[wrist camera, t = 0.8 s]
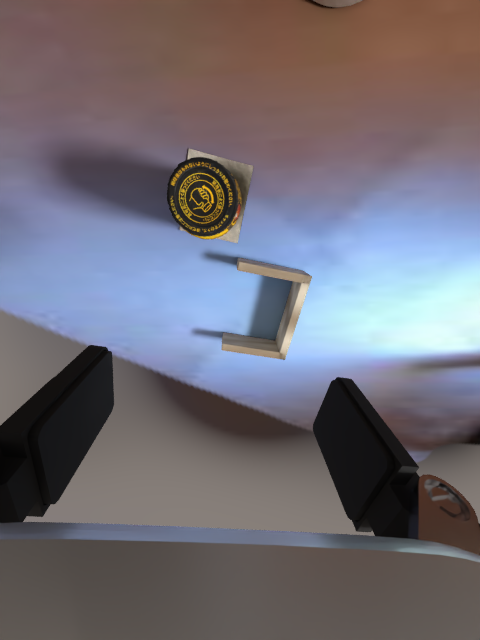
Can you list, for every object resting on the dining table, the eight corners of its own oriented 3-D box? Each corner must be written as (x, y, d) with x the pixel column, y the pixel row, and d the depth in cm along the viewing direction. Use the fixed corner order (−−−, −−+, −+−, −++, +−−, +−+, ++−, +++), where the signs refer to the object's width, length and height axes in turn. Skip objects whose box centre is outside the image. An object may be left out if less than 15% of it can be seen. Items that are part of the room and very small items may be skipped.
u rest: (238, 257, 30) (239, 261, 27) (303, 270, 31) (312, 276, 28) (222, 338, 35) (221, 350, 31) (279, 347, 36) (284, 359, 33)
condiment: (179, 229, 29) (149, 235, 17) (188, 148, 25) (159, 94, 14) (237, 243, 29) (243, 256, 18) (253, 166, 26) (272, 127, 15)
